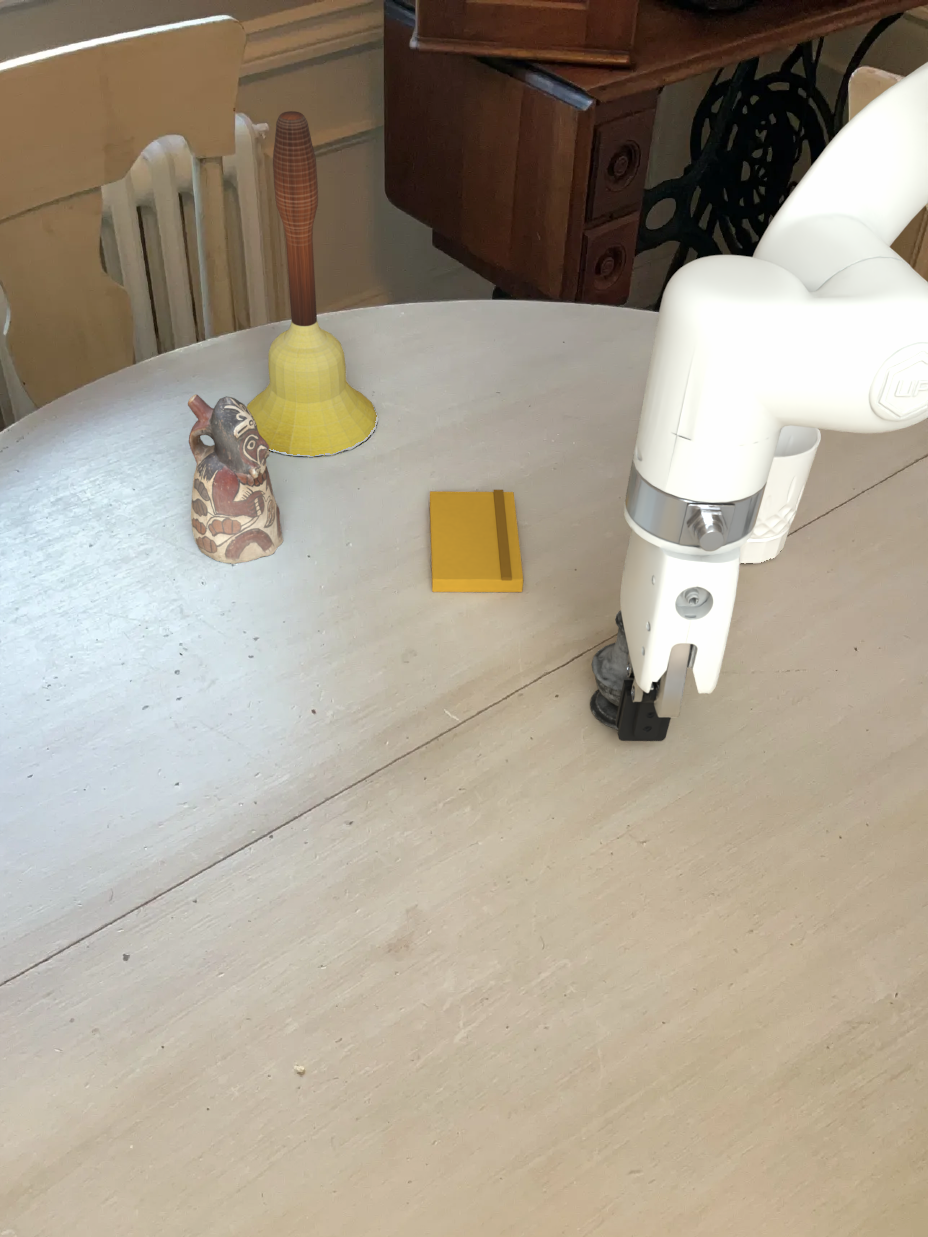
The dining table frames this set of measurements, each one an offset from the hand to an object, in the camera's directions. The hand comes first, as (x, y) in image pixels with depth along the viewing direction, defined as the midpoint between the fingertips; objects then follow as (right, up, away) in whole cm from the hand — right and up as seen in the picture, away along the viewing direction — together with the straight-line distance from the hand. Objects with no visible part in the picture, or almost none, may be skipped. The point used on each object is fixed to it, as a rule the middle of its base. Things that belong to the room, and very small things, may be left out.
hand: (639, 732), depth 85 cm
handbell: (-25, +31, +29) cm, 49 cm away
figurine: (-30, +17, +17) cm, 38 cm away
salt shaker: (0, +2, +5) cm, 5 cm away
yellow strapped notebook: (-11, +17, +17) cm, 26 cm away
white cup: (+11, +17, +18) cm, 28 cm away
